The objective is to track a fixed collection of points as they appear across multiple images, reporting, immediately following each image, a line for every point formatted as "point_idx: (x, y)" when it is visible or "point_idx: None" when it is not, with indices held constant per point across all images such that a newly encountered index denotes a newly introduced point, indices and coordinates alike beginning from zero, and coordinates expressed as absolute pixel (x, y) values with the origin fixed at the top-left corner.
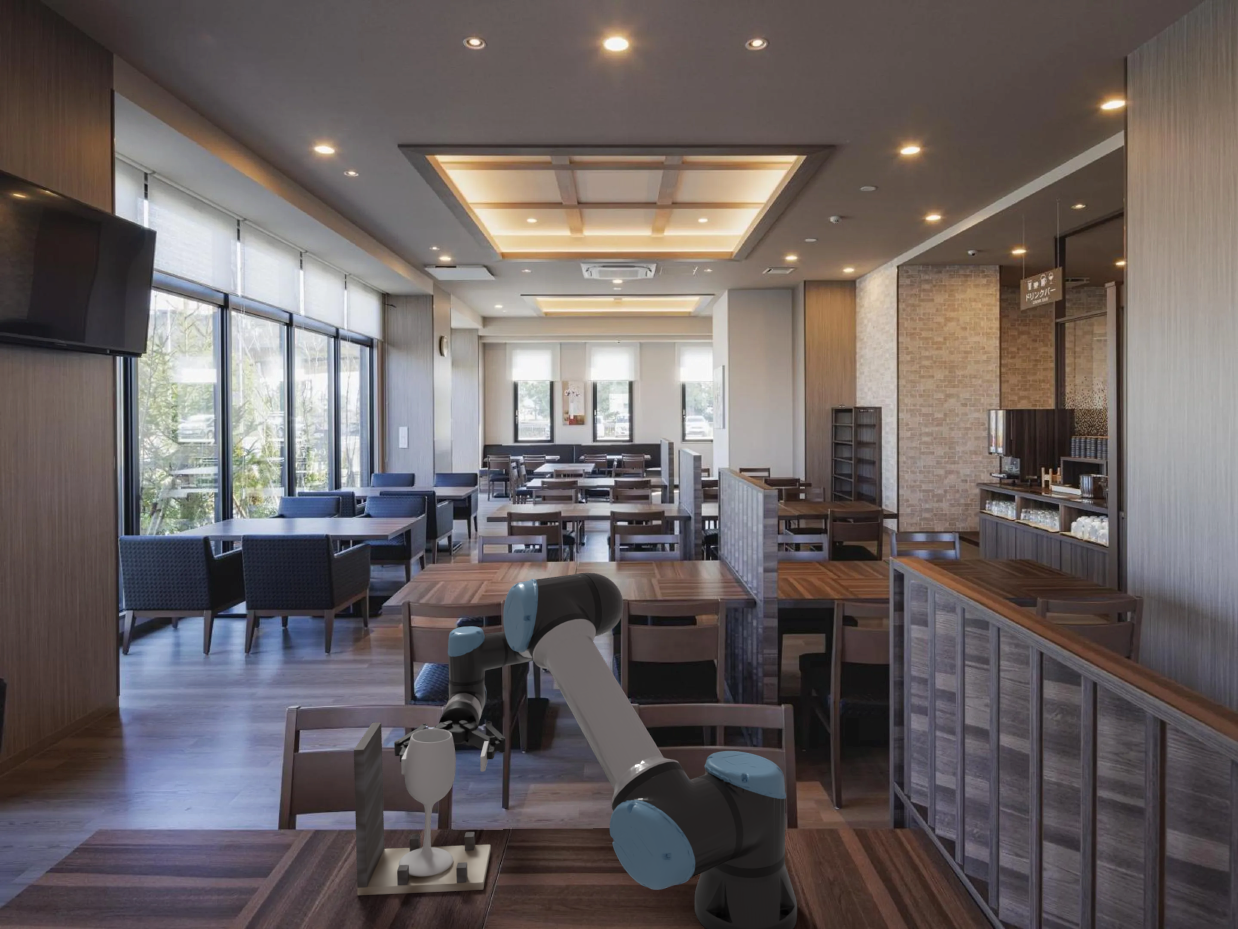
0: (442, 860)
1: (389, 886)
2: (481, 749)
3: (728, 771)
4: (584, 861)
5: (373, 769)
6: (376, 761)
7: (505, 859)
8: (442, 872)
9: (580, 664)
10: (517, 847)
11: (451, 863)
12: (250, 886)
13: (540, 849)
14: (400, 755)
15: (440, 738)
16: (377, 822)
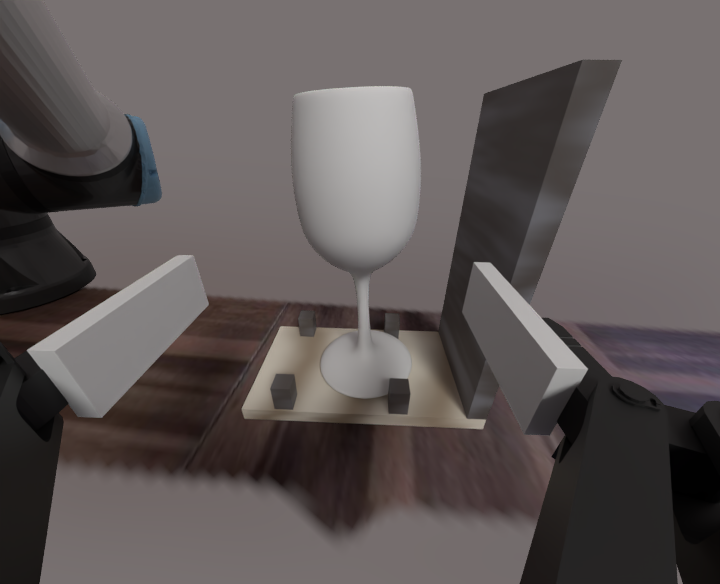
0: (337, 345)
1: (407, 331)
2: (49, 501)
3: None
4: None
5: (492, 186)
6: (507, 184)
7: (225, 392)
8: None
9: None
10: (183, 427)
11: (323, 354)
12: (635, 371)
13: (143, 414)
14: (544, 320)
15: (331, 129)
16: None
